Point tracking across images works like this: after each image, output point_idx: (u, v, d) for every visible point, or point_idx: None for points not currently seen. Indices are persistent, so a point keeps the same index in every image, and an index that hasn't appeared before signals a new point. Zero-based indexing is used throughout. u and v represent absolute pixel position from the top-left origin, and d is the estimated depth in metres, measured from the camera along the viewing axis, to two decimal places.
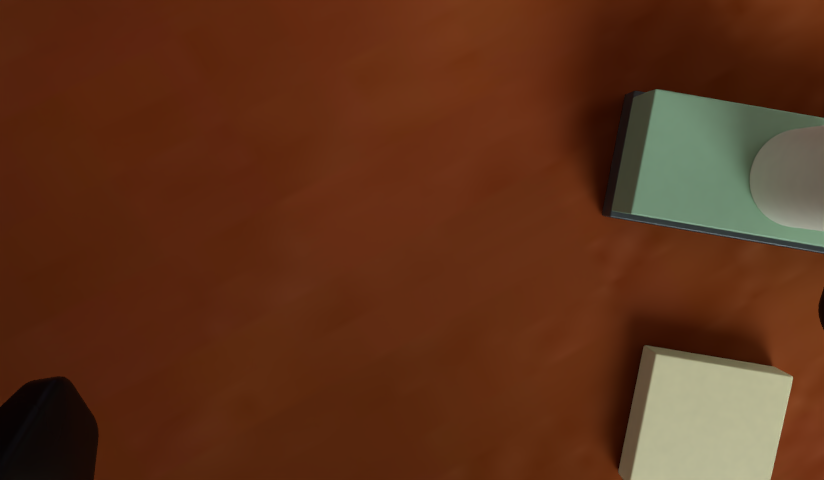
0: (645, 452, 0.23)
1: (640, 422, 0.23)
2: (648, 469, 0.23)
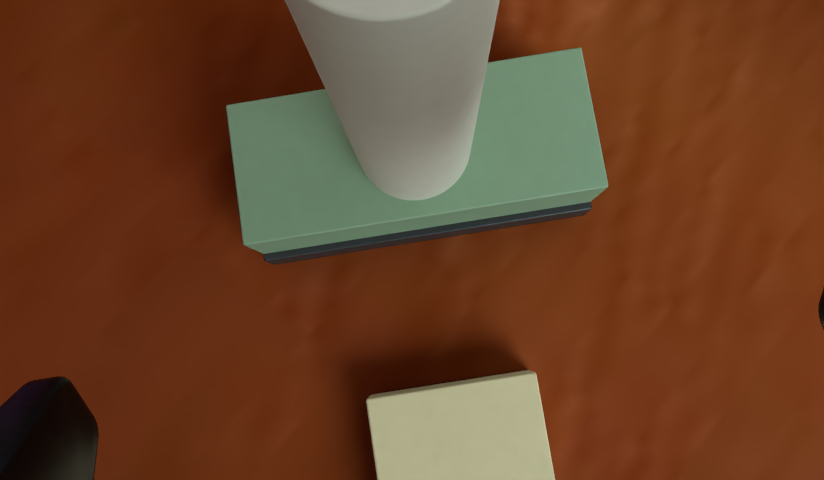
0: None
1: None
2: None
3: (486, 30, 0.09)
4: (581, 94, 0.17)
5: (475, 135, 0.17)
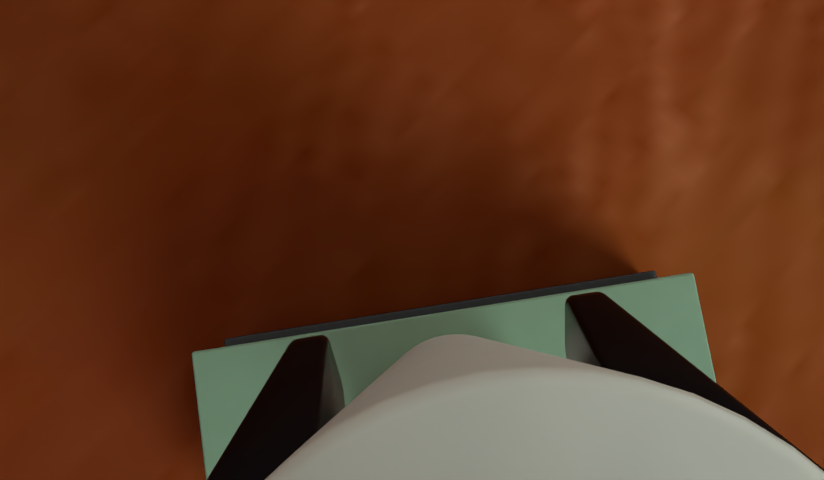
0: None
1: None
2: None
3: None
4: (695, 343, 0.12)
5: None
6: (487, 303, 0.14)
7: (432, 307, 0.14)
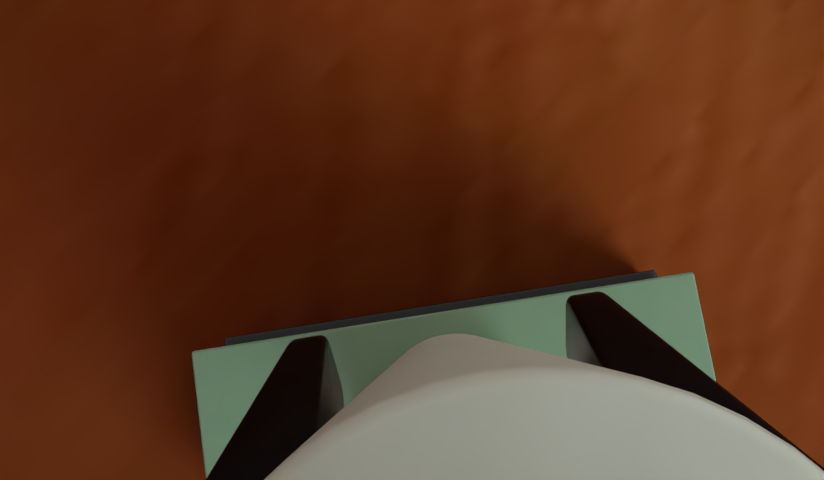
0: None
1: None
2: None
3: None
4: (695, 342, 0.12)
5: None
6: (487, 302, 0.14)
7: (432, 306, 0.14)
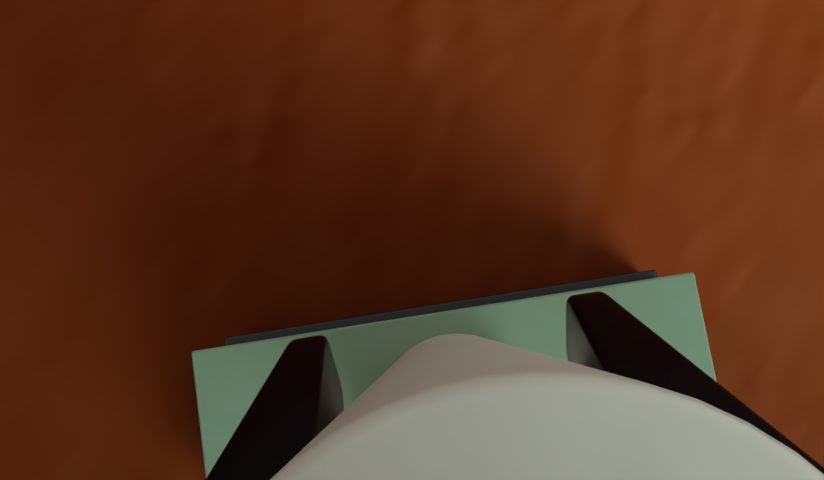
0: None
1: None
2: None
3: None
4: (696, 342, 0.12)
5: None
6: (487, 302, 0.14)
7: (432, 306, 0.14)
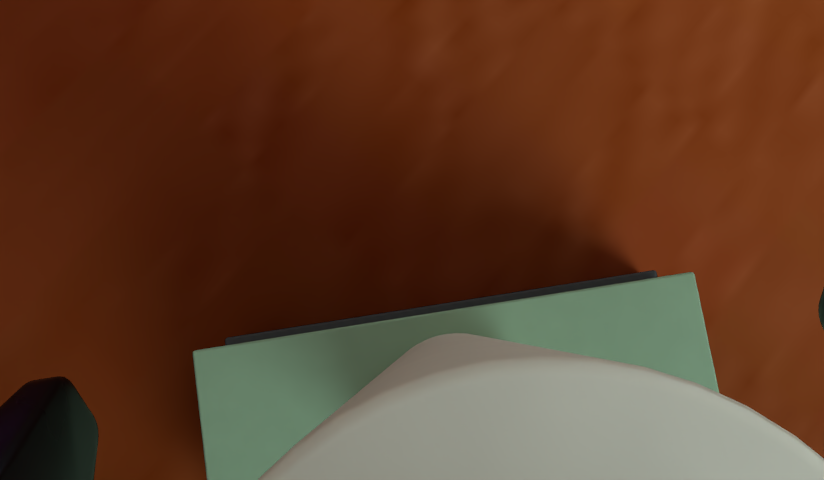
0: None
1: None
2: None
3: None
4: (696, 342, 0.12)
5: None
6: (488, 302, 0.14)
7: (433, 306, 0.14)
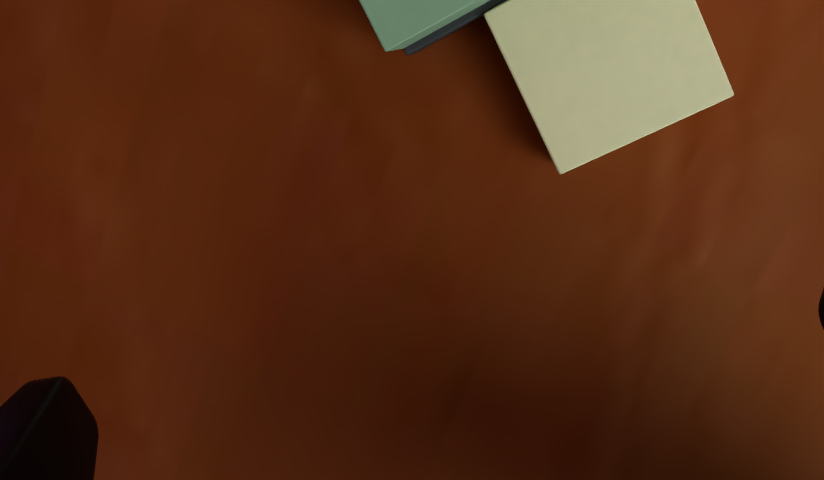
0: (550, 126, 0.18)
1: (523, 98, 0.18)
2: (566, 141, 0.18)
3: None
4: None
5: None
6: None
7: None
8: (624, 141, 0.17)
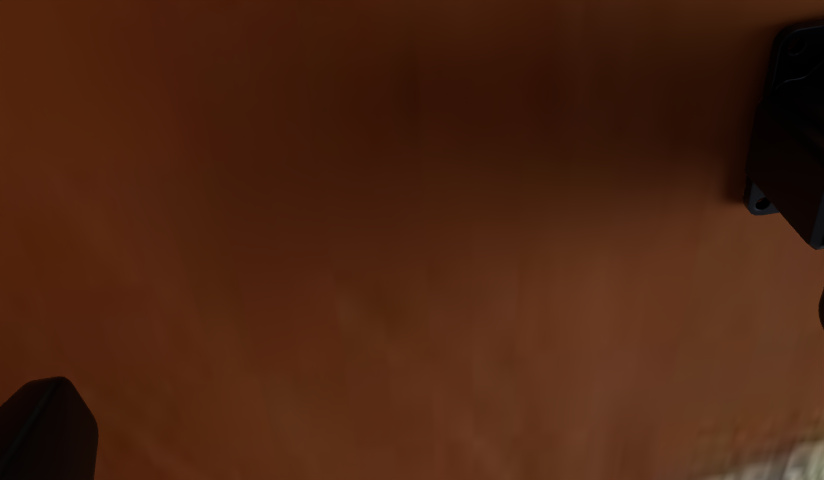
0: None
1: None
2: None
3: None
4: None
5: None
6: None
7: None
8: None
